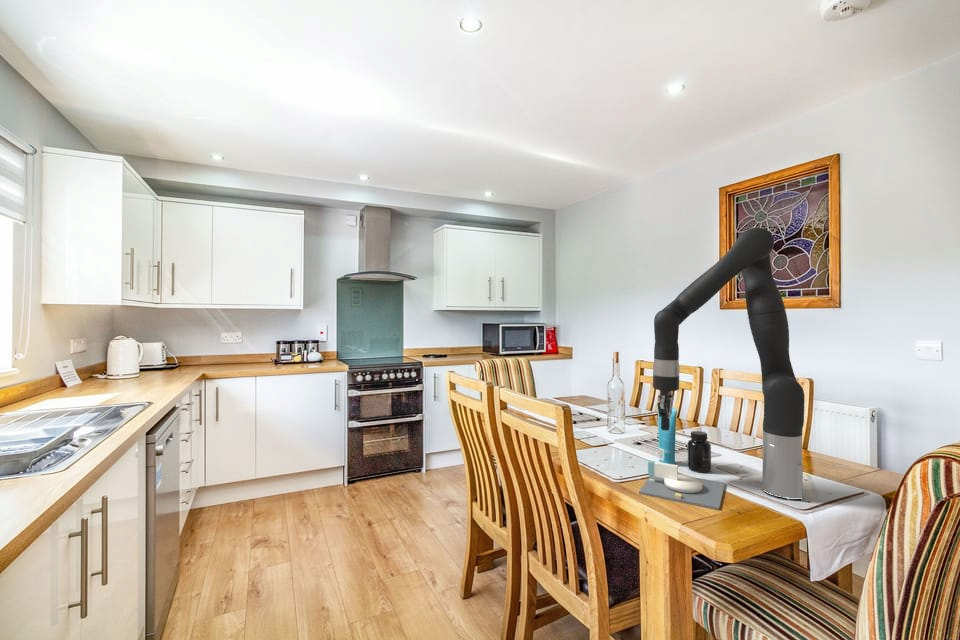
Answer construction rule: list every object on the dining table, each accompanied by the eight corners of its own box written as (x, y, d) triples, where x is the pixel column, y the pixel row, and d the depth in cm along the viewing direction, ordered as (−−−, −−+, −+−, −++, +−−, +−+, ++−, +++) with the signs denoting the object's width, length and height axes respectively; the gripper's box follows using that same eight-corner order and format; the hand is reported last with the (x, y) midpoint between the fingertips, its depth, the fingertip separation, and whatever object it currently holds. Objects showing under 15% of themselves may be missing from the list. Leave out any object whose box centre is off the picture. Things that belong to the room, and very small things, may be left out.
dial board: (724, 484, 133) (724, 479, 133) (719, 510, 116) (719, 504, 116) (653, 472, 144) (653, 467, 144) (639, 493, 127) (639, 488, 127)
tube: (680, 464, 151) (681, 407, 150) (673, 467, 148) (673, 409, 147) (660, 459, 156) (660, 404, 156) (652, 462, 153) (652, 405, 153)
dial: (704, 483, 132) (704, 464, 132) (700, 495, 123) (700, 475, 123) (652, 474, 139) (652, 456, 139) (644, 485, 131) (644, 465, 131)
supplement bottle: (708, 467, 148) (708, 430, 148) (713, 474, 142) (713, 436, 141) (685, 465, 150) (686, 429, 150) (689, 472, 144) (689, 434, 143)
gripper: (675, 377, 131) (674, 436, 131) (682, 372, 142) (681, 426, 143) (648, 375, 135) (647, 432, 135) (657, 370, 146) (656, 423, 147)
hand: (665, 429), depth 139 cm, fingers closed
